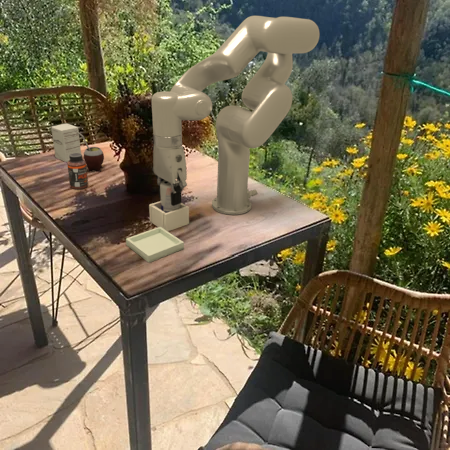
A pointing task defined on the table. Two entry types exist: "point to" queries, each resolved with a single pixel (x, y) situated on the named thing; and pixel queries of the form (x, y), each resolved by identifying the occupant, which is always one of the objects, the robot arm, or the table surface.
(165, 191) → the energy drink
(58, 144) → the supplement box
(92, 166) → the mate gourd
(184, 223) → the can holder
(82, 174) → the supplement bottle
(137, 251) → the tray
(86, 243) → the table surface
